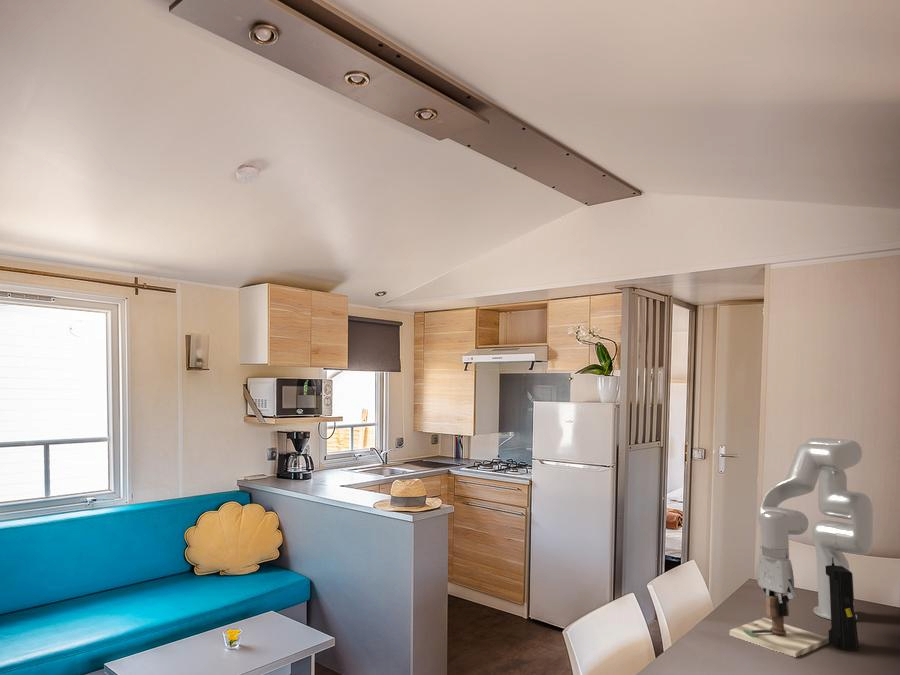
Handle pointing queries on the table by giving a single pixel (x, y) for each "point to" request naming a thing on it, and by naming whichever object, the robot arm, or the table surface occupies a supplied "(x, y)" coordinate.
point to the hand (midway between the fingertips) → (777, 613)
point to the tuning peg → (774, 617)
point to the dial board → (780, 638)
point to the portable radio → (842, 608)
